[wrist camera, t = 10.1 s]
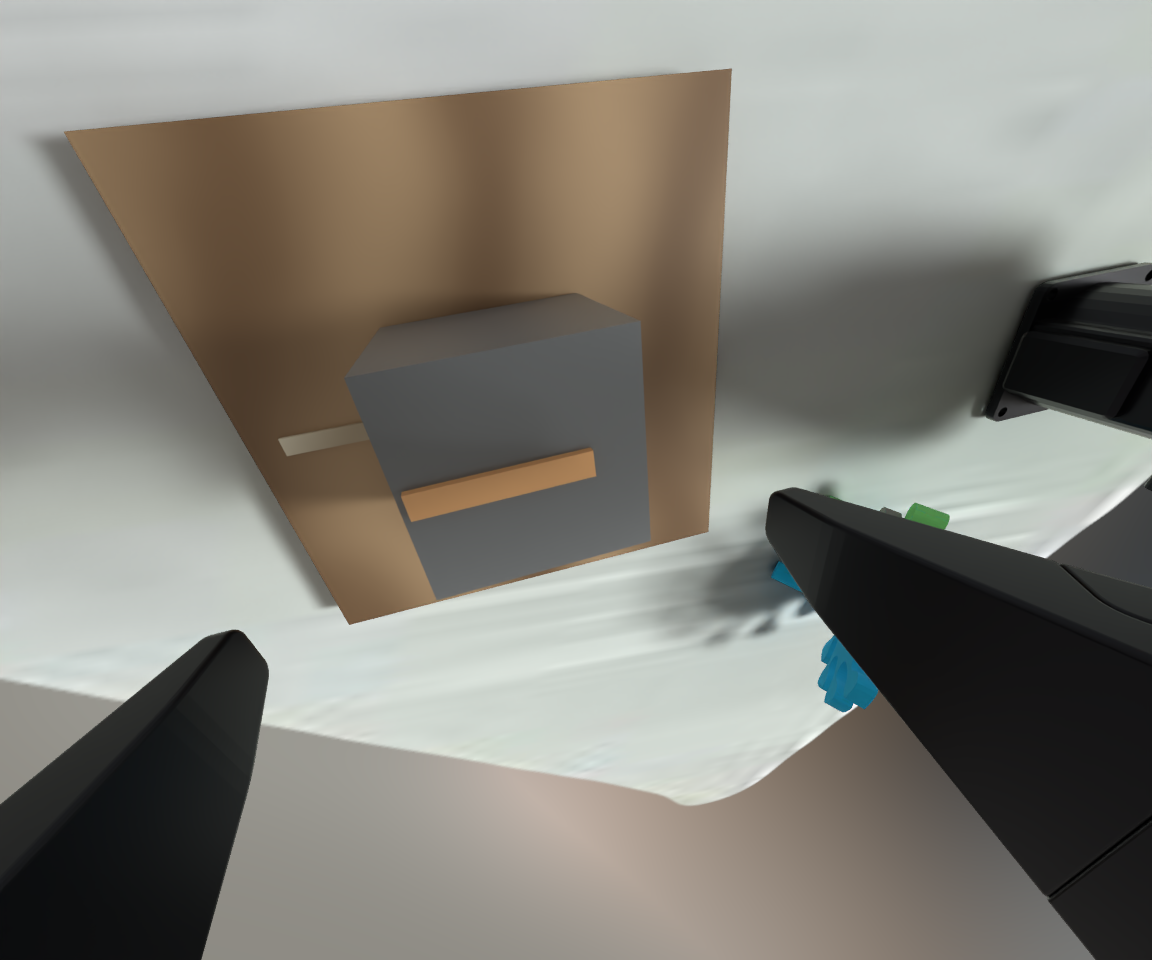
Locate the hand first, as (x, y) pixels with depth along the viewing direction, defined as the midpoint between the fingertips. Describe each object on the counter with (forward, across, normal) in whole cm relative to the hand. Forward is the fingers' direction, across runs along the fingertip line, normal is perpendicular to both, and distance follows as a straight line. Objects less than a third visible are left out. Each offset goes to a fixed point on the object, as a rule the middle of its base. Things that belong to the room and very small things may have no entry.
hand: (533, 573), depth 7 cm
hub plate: (+10, 0, 0) cm, 10 cm away
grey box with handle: (+9, 0, 0) cm, 9 cm away
